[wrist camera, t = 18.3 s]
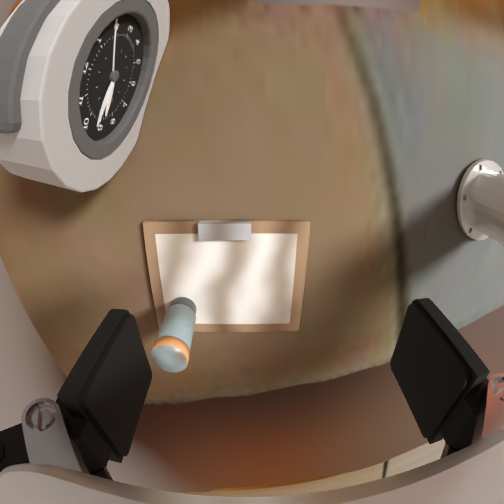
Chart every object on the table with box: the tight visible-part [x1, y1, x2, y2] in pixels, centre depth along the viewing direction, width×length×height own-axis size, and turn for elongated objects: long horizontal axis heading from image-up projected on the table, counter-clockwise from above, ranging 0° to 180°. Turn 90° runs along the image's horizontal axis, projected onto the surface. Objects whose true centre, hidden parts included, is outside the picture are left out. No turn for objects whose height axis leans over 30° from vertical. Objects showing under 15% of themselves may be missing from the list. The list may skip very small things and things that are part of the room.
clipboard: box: [143, 220, 310, 332], centre depth 36 cm, size 20×16×2 cm
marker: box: [151, 297, 197, 372], centre depth 33 cm, size 4×4×10 cm
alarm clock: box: [0, 0, 170, 192], centre depth 17 cm, size 21×8×20 cm, turn 163°
